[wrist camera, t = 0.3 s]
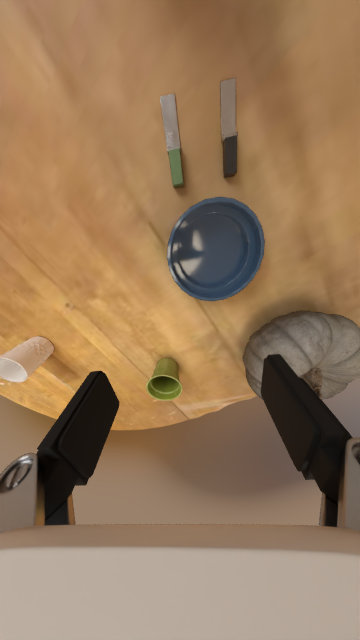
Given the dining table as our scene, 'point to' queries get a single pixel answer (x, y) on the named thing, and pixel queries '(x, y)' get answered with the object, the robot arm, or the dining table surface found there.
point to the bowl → (215, 248)
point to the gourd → (308, 350)
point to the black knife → (229, 126)
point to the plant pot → (165, 381)
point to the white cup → (25, 359)
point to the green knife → (172, 137)
